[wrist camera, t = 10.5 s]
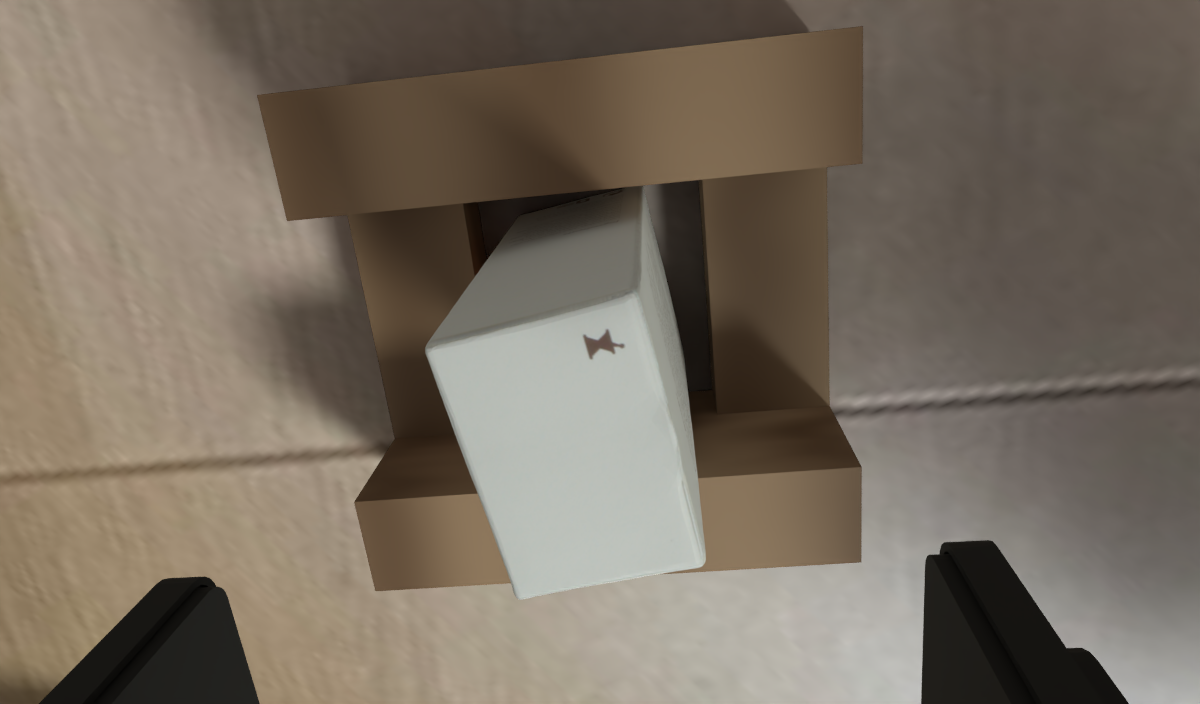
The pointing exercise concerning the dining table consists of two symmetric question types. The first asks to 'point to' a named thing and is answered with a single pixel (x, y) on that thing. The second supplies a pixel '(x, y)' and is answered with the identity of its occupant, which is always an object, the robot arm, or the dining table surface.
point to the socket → (584, 163)
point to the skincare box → (575, 399)
